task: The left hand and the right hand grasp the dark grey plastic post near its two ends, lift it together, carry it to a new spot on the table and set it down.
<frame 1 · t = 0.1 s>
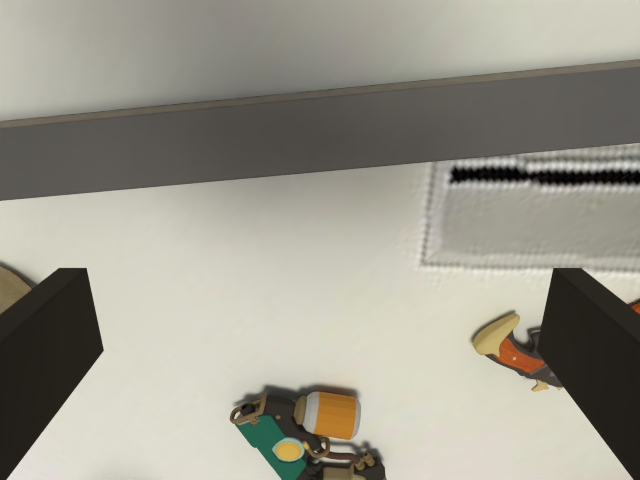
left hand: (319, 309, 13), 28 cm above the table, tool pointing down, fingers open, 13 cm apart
post: (410, 112, 38), on the table
sculpture: (21, 292, 44), on the table
spray gun: (312, 436, 51), on the table
toy gun: (571, 325, 46), on the table
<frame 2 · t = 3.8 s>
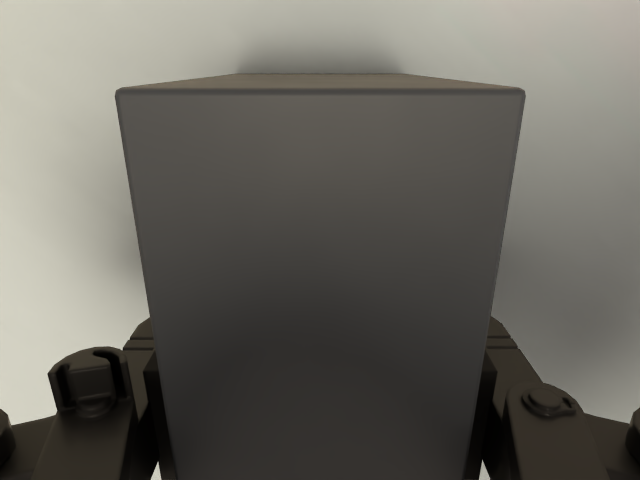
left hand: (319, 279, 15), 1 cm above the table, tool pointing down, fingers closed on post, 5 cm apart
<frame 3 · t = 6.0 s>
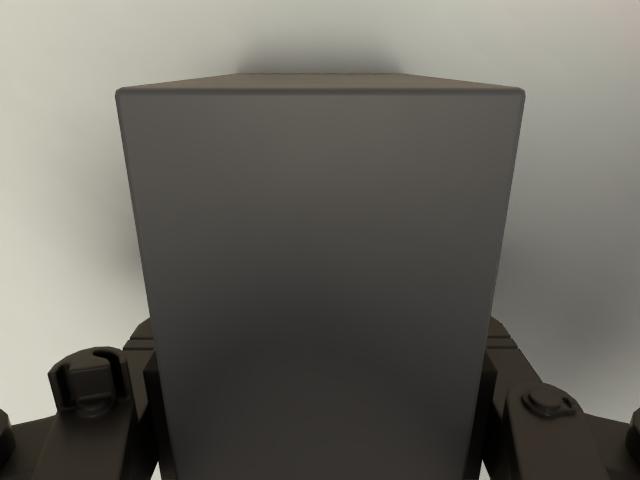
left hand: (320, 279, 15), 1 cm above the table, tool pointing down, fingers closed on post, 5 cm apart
when the left hand's fingers open (2 cm above the table, at t = 13.2 s): post drops 1 cm, on the table.
when the right hand's fingers open (4 cm above the table, at t = 13.4 s): post stays where it is, on the table.
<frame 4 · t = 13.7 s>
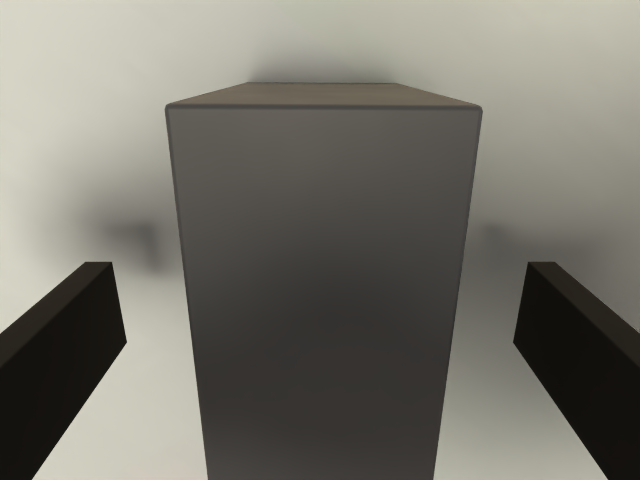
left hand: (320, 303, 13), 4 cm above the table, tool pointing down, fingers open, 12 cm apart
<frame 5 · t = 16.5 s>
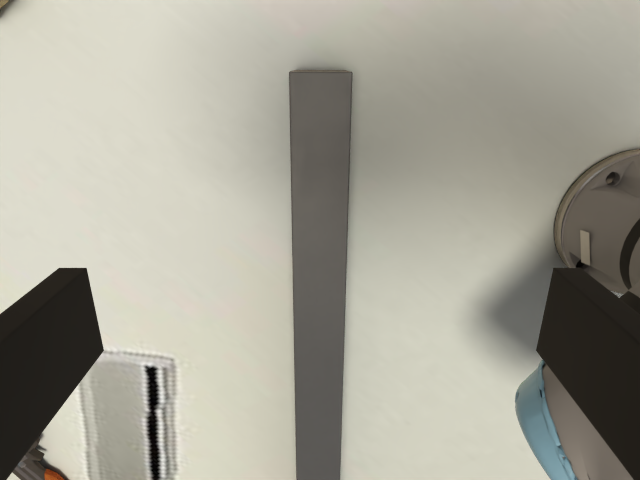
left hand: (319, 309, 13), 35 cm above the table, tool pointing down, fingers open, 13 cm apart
post: (318, 381, 56), on the table
toy gun: (39, 443, 60), on the table
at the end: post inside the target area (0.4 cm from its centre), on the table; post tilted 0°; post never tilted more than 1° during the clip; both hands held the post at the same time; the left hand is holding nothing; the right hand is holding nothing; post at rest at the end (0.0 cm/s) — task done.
